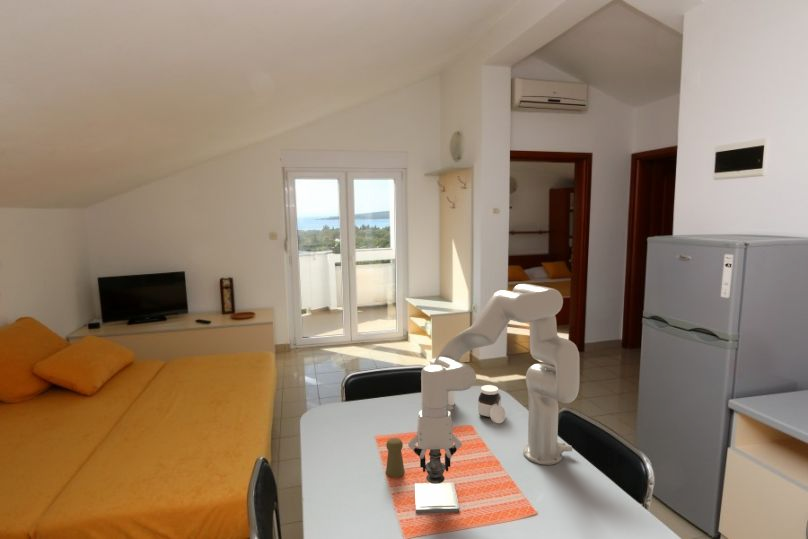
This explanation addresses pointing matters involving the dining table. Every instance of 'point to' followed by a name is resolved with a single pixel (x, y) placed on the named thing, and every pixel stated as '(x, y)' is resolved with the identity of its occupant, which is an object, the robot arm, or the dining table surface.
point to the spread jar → (491, 404)
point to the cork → (394, 458)
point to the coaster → (436, 498)
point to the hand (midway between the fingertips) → (435, 468)
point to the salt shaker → (435, 467)
